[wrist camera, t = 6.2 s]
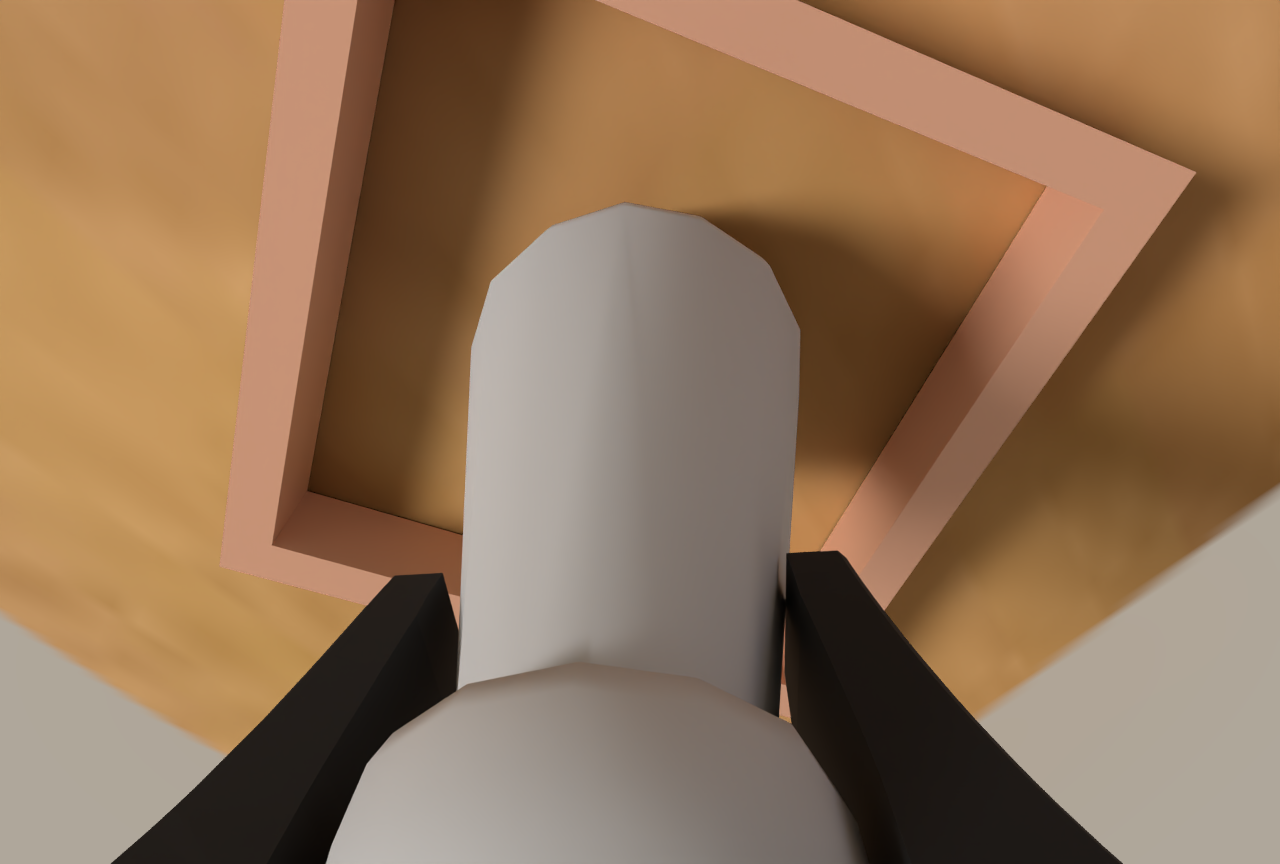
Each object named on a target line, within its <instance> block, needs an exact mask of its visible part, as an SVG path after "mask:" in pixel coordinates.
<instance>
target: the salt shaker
mask: <svg viewBox="0 0 1280 864" xmlns="http://www.w3.org/2000/svg"><path fill="white" fill-rule="evenodd" d="M799 376H800V328H799V326H798V324H797V322H796V320H795V318H794V316H793V313H792V311H791V309H790V307H789V305H788V303H787V301H786V299H785V297H784V295H783V292H782V290H781V288H780V286H779V284H778V282H777V280H776V278H775V276H774V274H773V271H772V269H771V267H770V265H769V264H768V263H767V262H766V261H765V260H764V259H763V258H762V257H760V256H759V255H757V254H756V253H755V252H753V251H752V250H750V249H749V248H747V247H746V246H744V245H743V244H741V243H740V242H738V241H737V240H735V239H734V238H732V237H731V236H729V235H728V234H726V233H725V232H723V231H722V230H720V229H719V228H717V227H716V226H714V225H713V224H711V223H710V222H708V221H707V220H705V219H704V218H703V217H701V216H697V215H692V214H686V213H681V212H676V211H670V210H665V209H660V208H654V207H649V206H644V205H638V204H633V203H628V202H623V203H620V204H617V205H614V206H611V207H608V208H605V209H602V210H598V211H595V212H592V213H589V214H586V215H583V216H580V217H577V218H574V219H571V220H567V221H564V222H561V223H558V224H555V225H552V226H551V227H550V228H548V229H547V230H546V231H545V232H544V233H543V234H542V235H541V236H539V237H538V238H537V239H536V240H535V241H534V242H533V243H532V244H531V245H530V246H529V247H527V248H526V249H525V250H524V251H523V252H522V253H521V254H520V255H519V256H518V257H517V258H516V259H514V260H513V261H512V262H511V263H510V264H509V265H508V266H507V267H506V268H505V269H504V270H502V271H501V272H500V273H499V274H498V275H497V276H496V277H495V278H494V279H493V280H492V281H491V283H490V286H489V290H488V293H487V297H486V300H485V303H484V307H483V310H482V313H481V317H480V320H479V324H478V327H477V330H476V334H475V337H474V340H473V344H472V347H471V368H470V390H469V412H468V435H467V457H466V479H465V502H464V524H463V547H462V569H461V591H460V614H459V636H458V659H457V681H456V692H454V693H453V694H451V695H450V696H448V697H447V698H445V699H444V700H442V701H441V702H439V703H437V704H436V705H434V706H433V707H431V708H430V709H428V710H427V711H425V712H424V713H422V714H421V715H419V716H418V717H416V718H415V719H413V720H412V721H410V722H409V723H407V724H406V725H404V726H403V727H401V728H400V729H398V730H397V731H395V732H394V733H392V734H391V736H390V737H389V738H388V739H387V740H386V742H385V743H384V744H383V745H382V746H381V748H380V749H379V750H378V751H377V752H376V754H375V755H374V756H373V757H372V758H371V760H370V761H369V762H368V763H367V765H366V767H365V769H364V771H363V774H362V776H361V778H360V781H359V783H358V785H357V788H356V790H355V792H354V794H353V797H352V799H351V801H350V804H349V806H348V808H347V811H346V813H345V815H344V818H343V820H342V822H341V824H340V827H339V829H338V831H337V834H336V836H335V838H334V841H333V843H332V846H331V849H330V852H329V855H328V859H327V862H326V864H869V862H868V858H867V855H866V852H865V848H864V845H863V841H862V838H861V834H860V831H859V827H858V824H857V822H856V820H855V818H854V817H853V815H852V814H851V812H850V810H849V809H848V807H847V805H846V804H845V802H844V801H843V799H842V797H841V796H840V794H839V793H838V791H837V789H836V788H835V786H834V785H833V783H832V782H831V780H830V779H829V777H828V776H827V775H826V773H825V772H824V770H823V769H822V767H821V766H820V764H819V763H818V761H817V760H816V759H815V757H814V756H813V754H812V753H811V751H810V750H809V748H808V747H807V745H806V744H805V743H804V741H803V740H802V738H801V737H800V735H799V734H798V732H797V731H796V730H795V728H794V727H793V725H792V724H791V723H789V722H787V721H784V720H782V719H780V718H779V709H780V693H781V677H782V661H783V645H784V629H785V613H786V553H789V549H790V533H791V517H792V501H793V485H794V469H795V454H796V438H797V422H798V406H799Z"/></svg>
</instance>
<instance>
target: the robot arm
mask: <svg viewBox="0 0 1280 864" xmlns="http://www.w3.org/2000/svg"><path fill="white" fill-rule="evenodd" d="M458 636H459V630H458V626H457V623H456V619H455V615H454V612H453V608H452V604H451V601H450V597H449V594H448V590H447V586H446V583H445V579H444V575H443V573H430V574H412V575H395V576H394V577H393V578H392V579H391V580H390V581H389V582H388V583H387V584H386V585H385V586H384V587H383V588H382V590H381V591H380V592H379V593H378V594H377V595H376V596H375V597H374V598H373V599H372V600H371V602H370V603H369V604H368V605H367V606H366V607H365V608H364V609H363V611H362V612H361V613H360V614H359V615H358V616H357V617H356V618H355V619H354V621H353V622H352V623H351V624H350V625H349V626H348V627H347V629H346V630H345V631H344V632H343V633H342V634H341V635H340V636H339V638H338V639H337V640H336V641H335V642H334V643H333V644H332V645H331V646H330V648H329V649H328V650H327V651H326V652H325V653H324V654H323V655H322V657H321V658H320V659H319V660H318V661H317V662H316V663H315V664H314V665H313V666H312V668H311V669H310V670H309V671H308V672H307V673H306V674H305V675H304V676H303V677H302V678H301V679H300V681H299V682H298V683H297V684H296V685H295V686H294V687H293V688H292V689H291V690H290V691H289V692H288V693H287V695H286V696H285V697H284V698H283V699H282V700H281V701H280V702H279V703H278V704H277V705H276V706H275V708H274V709H273V710H272V711H271V712H270V713H269V714H268V715H267V716H266V717H265V718H264V719H263V720H262V721H261V722H260V723H259V724H258V725H257V726H256V727H255V728H254V729H253V730H252V731H251V732H250V733H249V734H248V735H247V736H246V737H245V738H244V739H243V740H242V741H241V742H240V743H239V744H238V745H237V746H236V747H235V748H234V749H233V750H232V751H231V752H230V753H229V754H228V755H227V756H226V757H225V758H224V759H223V760H222V761H221V762H220V763H219V764H218V765H217V766H216V767H215V768H214V769H213V770H212V771H211V772H210V773H209V774H208V775H207V776H206V777H205V778H204V779H203V780H202V782H200V783H199V784H198V785H197V786H196V787H195V788H194V789H193V790H192V791H191V792H190V793H189V794H188V795H187V796H186V797H185V798H184V799H183V800H181V802H179V803H178V804H177V805H176V806H175V807H174V808H173V809H172V810H171V811H170V812H169V813H167V814H166V815H165V816H164V817H163V818H162V819H161V820H160V821H159V822H158V823H157V824H156V825H155V826H153V827H152V828H151V829H150V830H149V831H148V832H147V833H145V834H144V835H143V836H142V837H141V838H140V839H138V840H137V841H136V842H135V843H134V844H133V845H132V846H130V847H129V848H128V849H127V850H126V851H125V852H124V853H122V854H121V855H120V856H119V857H118V858H117V859H116V860H114V861H113V862H112V863H111V864H326V862H327V859H328V855H329V852H330V849H331V846H332V843H333V841H334V838H335V836H336V834H337V831H338V829H339V827H340V824H341V822H342V820H343V818H344V815H345V813H346V811H347V808H348V806H349V804H350V801H351V799H352V797H353V794H354V792H355V790H356V788H357V785H358V783H359V781H360V778H361V776H362V774H363V771H364V769H365V767H366V765H367V763H368V762H369V761H370V760H371V758H372V757H373V756H374V755H375V754H376V752H377V751H378V750H379V749H380V748H381V746H382V745H383V744H384V743H385V742H386V740H387V739H388V738H389V737H390V736H391V734H392V733H394V732H395V731H397V730H398V729H400V728H401V727H403V726H404V725H406V724H407V723H409V722H410V721H412V720H413V719H415V718H416V717H418V716H419V715H421V714H422V713H424V712H425V711H427V710H428V709H430V708H431V707H433V706H434V705H436V704H437V703H439V702H441V701H442V700H444V699H445V698H447V697H448V696H450V695H451V694H453V693H454V692H456V681H457V659H458ZM784 674H785V681H786V688H787V695H788V702H789V709H790V716H791V722H792V725H793V727H794V728H795V730H796V731H797V732H798V734H799V735H800V737H801V738H802V740H803V741H804V743H805V744H806V745H807V747H808V748H809V750H810V751H811V753H812V754H813V756H814V757H815V759H816V760H817V761H818V763H819V764H820V766H821V767H822V769H823V770H824V772H825V773H826V775H827V776H828V777H829V779H830V780H831V782H832V783H833V785H834V786H835V788H836V789H837V791H838V793H839V794H840V796H841V797H842V799H843V801H844V802H845V804H846V805H847V807H848V809H849V810H850V812H851V814H852V815H853V817H854V818H855V820H856V822H857V824H858V827H859V831H860V834H861V838H862V841H863V845H864V848H865V852H866V855H867V858H868V862H869V864H1123V863H1122V862H1120V861H1119V860H1118V859H1117V858H1116V857H1115V856H1114V855H1113V854H1111V853H1110V852H1109V851H1108V850H1107V849H1106V848H1105V847H1103V846H1102V845H1101V844H1100V843H1099V842H1098V841H1097V840H1096V839H1095V838H1094V837H1093V836H1092V835H1091V834H1089V833H1088V832H1087V831H1086V830H1085V829H1084V828H1083V827H1082V826H1081V825H1080V824H1079V823H1078V822H1077V821H1075V820H1074V819H1073V818H1072V817H1071V816H1070V815H1069V814H1068V813H1067V812H1066V811H1065V810H1064V809H1063V808H1062V807H1060V806H1059V805H1058V804H1057V803H1056V802H1055V801H1054V800H1053V799H1052V798H1051V797H1050V796H1049V795H1048V794H1047V793H1046V792H1045V791H1044V790H1043V789H1042V788H1041V787H1040V786H1039V785H1038V784H1037V783H1036V782H1035V781H1034V780H1033V779H1032V778H1031V777H1030V776H1029V775H1028V774H1027V773H1026V772H1025V771H1024V770H1023V769H1022V768H1021V767H1020V766H1019V765H1018V764H1017V763H1016V762H1015V761H1014V760H1013V759H1012V758H1011V757H1010V756H1009V755H1008V754H1007V753H1006V752H1005V750H1004V749H1003V748H1002V747H1001V746H1000V745H999V744H998V743H997V742H996V741H995V740H994V739H993V738H992V737H991V736H990V735H989V733H988V732H987V731H986V730H985V729H984V728H983V727H982V726H981V725H980V724H979V723H978V722H977V721H976V720H975V718H974V717H973V716H972V715H971V714H970V713H969V712H968V711H967V710H966V708H965V707H964V706H963V705H962V704H961V703H960V702H959V701H958V700H957V698H956V697H955V696H954V695H953V694H952V693H951V692H950V690H949V689H948V688H947V687H946V686H945V684H944V683H943V682H942V681H941V680H940V679H939V677H938V676H937V675H936V674H935V673H934V672H933V670H932V669H931V668H930V667H929V666H928V665H927V663H926V662H925V661H924V660H923V659H922V657H921V656H920V655H919V654H918V653H917V652H916V650H915V649H914V648H913V647H912V645H911V644H910V643H909V642H908V640H907V639H906V638H905V637H904V636H903V634H902V633H901V632H900V630H899V629H898V628H897V627H896V625H895V624H894V623H893V621H892V620H891V619H890V618H889V616H888V615H887V614H886V612H885V611H884V610H883V609H882V607H881V606H880V604H879V603H878V602H877V600H876V599H875V598H874V596H873V595H872V594H871V592H870V591H869V590H868V588H867V587H866V585H865V584H864V583H863V581H862V580H861V578H860V577H859V576H858V574H857V573H856V571H855V570H854V568H853V567H852V565H851V564H850V562H849V561H848V559H847V558H846V557H845V556H844V555H843V554H841V553H840V552H839V551H838V550H835V551H817V552H800V553H786V613H785V667H784Z"/></svg>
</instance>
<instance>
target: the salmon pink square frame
mask: <svg viewBox="0 0 1280 864" xmlns="http://www.w3.org/2000/svg"><path fill="white" fill-rule="evenodd" d="M596 1H599V2H601V3H604V4H606V5H609V6H611V7H613V8H616V9H618V10H621V11H623V12H625V13H628V14H630V15H633V16H635V17H638V18H640V19H642V20H645V21H647V22H650V23H652V24H655V25H657V26H659V27H662V28H664V29H667V30H669V31H672V32H674V33H676V34H679V35H681V36H684V37H686V38H689V39H691V40H693V41H696V42H698V43H701V44H703V45H706V46H708V47H710V48H713V49H715V50H718V51H720V52H723V53H725V54H727V55H730V56H732V57H735V58H737V59H740V60H742V61H744V62H747V63H749V64H752V65H754V66H757V67H759V68H761V69H764V70H766V71H769V72H771V73H774V74H776V75H778V76H781V77H783V78H786V79H788V80H791V81H793V82H795V83H798V84H800V85H803V86H805V87H808V88H810V89H812V90H815V91H817V92H820V93H822V94H825V95H827V96H829V97H832V98H834V99H837V100H839V101H842V102H844V103H846V104H849V105H851V106H854V107H856V108H859V109H861V110H863V111H866V112H868V113H871V114H873V115H875V116H878V117H880V118H883V119H885V120H888V121H890V122H892V123H895V124H897V125H900V126H902V127H905V128H907V129H909V130H912V131H914V132H917V133H919V134H922V135H924V136H926V137H929V138H931V139H934V140H936V141H939V142H941V143H943V144H946V145H948V146H951V147H953V148H956V149H958V150H960V151H963V152H965V153H968V154H970V155H973V156H975V157H977V158H980V159H982V160H985V161H987V162H990V163H992V164H994V165H997V166H999V167H1002V168H1004V169H1007V170H1009V171H1011V172H1014V173H1016V174H1019V175H1021V176H1024V177H1026V178H1028V179H1031V180H1033V181H1036V182H1038V183H1041V184H1043V185H1045V186H1047V187H1046V189H1045V190H1044V192H1043V194H1042V195H1041V197H1040V198H1039V200H1038V202H1037V203H1036V205H1035V206H1034V208H1033V210H1032V211H1031V213H1030V214H1029V216H1028V218H1027V219H1026V221H1025V222H1024V224H1023V226H1022V227H1021V229H1020V231H1019V232H1018V234H1017V235H1016V237H1015V239H1014V240H1013V242H1012V243H1011V245H1010V247H1009V248H1008V250H1007V251H1006V253H1005V255H1004V256H1003V258H1002V259H1001V261H1000V263H999V264H998V266H997V268H996V269H995V271H994V272H993V274H992V276H991V277H990V279H989V280H988V282H987V284H986V285H985V287H984V288H983V290H982V292H981V293H980V295H979V296H978V298H977V300H976V301H975V303H974V304H973V306H972V308H971V309H970V311H969V313H968V314H967V316H966V317H965V319H964V321H963V322H962V324H961V325H960V327H959V329H958V330H957V332H956V333H955V335H954V337H953V338H952V340H951V341H950V343H949V345H948V346H947V348H946V350H945V351H944V353H943V354H942V356H941V358H940V359H939V361H938V362H937V364H936V366H935V367H934V369H933V370H932V372H931V374H930V375H929V377H928V378H927V380H926V382H925V383H924V385H923V387H922V388H921V390H920V391H919V393H918V395H917V396H916V398H915V399H914V401H913V403H912V404H911V406H910V407H909V409H908V411H907V412H906V414H905V415H904V417H903V419H902V420H901V422H900V423H899V425H898V427H897V428H896V430H895V432H894V433H893V435H892V436H891V438H890V440H889V441H888V443H887V444H886V446H885V448H884V449H883V451H882V452H881V454H880V456H879V457H878V459H877V460H876V462H875V464H874V465H873V467H872V469H871V470H870V472H869V473H868V475H867V477H866V478H865V480H864V481H863V483H862V485H861V486H860V488H859V489H858V491H857V493H856V494H855V496H854V497H853V499H852V501H851V502H850V504H849V505H848V507H847V509H846V510H845V512H844V514H843V515H842V517H841V518H840V520H839V522H838V523H837V525H836V526H835V528H834V530H833V531H832V533H831V534H830V536H829V538H828V539H827V541H826V542H825V544H824V546H823V547H822V549H821V551H835V550H838V551H839V552H840V553H841V554H843V555H844V556H845V557H846V558H847V559H848V561H849V562H850V564H851V565H852V567H853V568H854V570H855V571H856V573H857V574H858V576H859V577H860V578H861V580H862V581H863V583H864V584H865V585H866V587H867V588H868V590H869V591H870V592H871V594H872V595H873V596H874V598H875V599H876V600H877V602H878V603H879V604H880V606H881V607H882V609H883V610H885V609H886V607H887V606H888V605H889V603H890V602H891V600H892V599H893V598H894V596H895V595H896V593H897V592H898V591H899V589H900V588H901V586H902V585H903V584H904V582H905V581H906V579H907V578H908V577H909V575H910V574H911V572H912V571H913V570H914V568H915V567H916V565H917V564H918V563H919V561H920V560H921V558H922V557H923V556H924V554H925V553H926V551H927V550H928V549H929V547H930V546H931V544H932V543H933V541H934V540H935V539H936V537H937V536H938V534H939V533H940V532H941V530H942V529H943V527H944V526H945V525H946V523H947V522H948V520H949V519H950V518H951V516H952V515H953V513H954V512H955V511H956V509H957V508H958V506H959V505H960V504H961V502H962V501H963V499H964V498H965V497H966V495H967V494H968V492H969V491H970V490H971V488H972V487H973V485H974V484H975V483H976V481H977V480H978V478H979V477H980V475H981V474H982V473H983V471H984V470H985V468H986V467H987V466H988V464H989V463H990V461H991V460H992V459H993V457H994V456H995V454H996V453H997V452H998V450H999V449H1000V447H1001V446H1002V445H1003V443H1004V442H1005V440H1006V439H1007V438H1008V436H1009V435H1010V433H1011V432H1012V431H1013V429H1014V428H1015V426H1016V425H1017V424H1018V422H1019V421H1020V419H1021V418H1022V417H1023V415H1024V414H1025V412H1026V411H1027V409H1028V408H1029V407H1030V405H1031V404H1032V402H1033V401H1034V400H1035V398H1036V397H1037V395H1038V394H1039V393H1040V391H1041V390H1042V388H1043V387H1044V386H1045V384H1046V383H1047V381H1048V380H1049V379H1050V377H1051V376H1052V374H1053V373H1054V372H1055V370H1056V369H1057V367H1058V366H1059V365H1060V363H1061V362H1062V360H1063V359H1064V358H1065V356H1066V355H1067V353H1068V352H1069V351H1070V349H1071V348H1072V346H1073V345H1074V343H1075V342H1076V341H1077V339H1078V338H1079V336H1080V335H1081V334H1082V332H1083V331H1084V329H1085V328H1086V327H1087V325H1088V324H1089V322H1090V321H1091V320H1092V318H1093V317H1094V315H1095V314H1096V313H1097V311H1098V310H1099V308H1100V307H1101V306H1102V304H1103V303H1104V301H1105V300H1106V299H1107V297H1108V296H1109V294H1110V293H1111V292H1112V290H1113V289H1114V287H1115V286H1116V285H1117V283H1118V282H1119V280H1120V279H1121V278H1122V276H1123V275H1124V273H1125V272H1126V270H1127V269H1128V268H1129V266H1130V265H1131V263H1132V262H1133V261H1134V259H1135V258H1136V256H1137V255H1138V254H1139V252H1140V251H1141V249H1142V248H1143V247H1144V245H1145V244H1146V242H1147V241H1148V240H1149V238H1150V237H1151V235H1152V234H1153V233H1154V231H1155V230H1156V228H1157V227H1158V226H1159V224H1160V223H1161V221H1162V220H1163V219H1164V217H1165V216H1166V214H1167V213H1168V212H1169V210H1170V209H1171V207H1172V206H1173V204H1174V203H1175V202H1176V200H1177V199H1178V197H1179V196H1180V195H1181V193H1182V192H1183V190H1184V189H1185V188H1186V186H1187V185H1188V183H1189V182H1190V181H1191V179H1192V178H1193V176H1194V175H1195V174H1196V172H1195V171H1192V170H1190V169H1188V168H1185V167H1183V166H1181V165H1178V164H1176V163H1174V162H1171V161H1169V160H1167V159H1164V158H1162V157H1160V156H1157V155H1155V154H1153V153H1151V152H1148V151H1146V150H1144V149H1141V148H1139V147H1137V146H1134V145H1132V144H1130V143H1127V142H1125V141H1123V140H1120V139H1118V138H1116V137H1113V136H1111V135H1109V134H1106V133H1104V132H1102V131H1100V130H1097V129H1095V128H1093V127H1090V126H1088V125H1086V124H1083V123H1081V122H1079V121H1076V120H1074V119H1072V118H1069V117H1067V116H1065V115H1062V114H1060V113H1058V112H1055V111H1053V110H1051V109H1048V108H1046V107H1044V106H1042V105H1039V104H1037V103H1035V102H1032V101H1030V100H1028V99H1025V98H1023V97H1021V96H1018V95H1016V94H1014V93H1011V92H1009V91H1007V90H1004V89H1002V88H1000V87H997V86H995V85H993V84H991V83H988V82H986V81H984V80H981V79H979V78H977V77H974V76H972V75H970V74H967V73H965V72H963V71H960V70H958V69H956V68H953V67H951V66H949V65H946V64H944V63H942V62H940V61H937V60H935V59H933V58H930V57H928V56H926V55H923V54H921V53H919V52H916V51H914V50H912V49H909V48H907V47H905V46H902V45H900V44H898V43H895V42H893V41H891V40H888V39H886V38H884V37H882V36H879V35H877V34H875V33H872V32H870V31H868V30H865V29H863V28H861V27H858V26H856V25H854V24H851V23H849V22H847V21H844V20H842V19H840V18H837V17H835V16H833V15H831V14H828V13H826V12H824V11H821V10H819V9H817V8H814V7H812V6H810V5H807V4H805V3H803V2H800V1H798V0H596ZM394 2H395V0H284V9H283V18H282V26H281V35H280V44H279V53H278V61H277V70H276V79H275V87H274V96H273V105H272V114H271V122H270V131H269V140H268V148H267V157H266V166H265V175H264V183H263V192H262V201H261V209H260V218H259V227H258V236H257V244H256V253H255V262H254V270H253V279H252V288H251V297H250V305H249V314H248V323H247V332H246V340H245V349H244V358H243V366H242V375H241V384H240V393H239V401H238V410H237V419H236V427H235V436H234V445H233V454H232V462H231V471H230V480H229V488H228V497H227V506H226V515H225V523H224V532H223V541H222V549H221V558H220V567H223V568H227V569H231V570H234V571H238V572H242V573H246V574H249V575H253V576H257V577H261V578H265V579H268V580H272V581H276V582H280V583H283V584H287V585H291V586H295V587H299V588H302V589H306V590H310V591H314V592H317V593H321V594H325V595H329V596H333V597H336V598H340V599H344V600H348V601H351V602H355V603H359V604H363V605H368V604H369V603H370V602H371V600H372V599H373V598H374V597H375V596H376V595H377V594H378V593H379V592H380V591H381V590H382V588H383V587H384V586H385V585H386V584H387V583H388V582H389V581H390V580H391V579H392V578H393V577H394V576H395V575H412V574H430V573H443V575H444V579H445V583H446V586H447V590H448V594H449V597H450V601H451V604H452V608H453V612H454V615H455V619H456V623H457V626H458V630H459V614H460V591H461V569H462V547H463V535H460V534H456V533H453V532H449V531H446V530H442V529H439V528H435V527H432V526H428V525H425V524H421V523H418V522H414V521H411V520H407V519H404V518H400V517H397V516H393V515H390V514H386V513H383V512H379V511H376V510H372V509H369V508H365V507H362V506H358V505H355V504H351V503H348V502H344V501H341V500H337V499H334V498H330V497H327V496H323V495H320V494H316V493H313V492H309V491H307V490H308V484H309V478H310V473H311V467H312V462H313V456H314V450H315V445H316V439H317V434H318V428H319V422H320V417H321V411H322V406H323V400H324V394H325V389H326V383H327V378H328V372H329V366H330V361H331V355H332V350H333V344H334V338H335V333H336V327H337V321H338V316H339V310H340V305H341V299H342V293H343V288H344V282H345V277H346V271H347V265H348V260H349V254H350V249H351V243H352V237H353V232H354V226H355V221H356V215H357V209H358V204H359V198H360V193H361V187H362V181H363V176H364V170H365V165H366V159H367V153H368V148H369V142H370V137H371V131H372V125H373V120H374V114H375V109H376V103H377V97H378V92H379V86H380V80H381V75H382V69H383V64H384V58H385V52H386V47H387V41H388V36H389V30H390V24H391V19H392V13H393V8H394ZM784 667H785V629H784V645H783V661H782V677H781V693H780V709H779V715H782V716H786V717H789V718H791V716H790V709H789V702H788V695H787V688H786V681H785V674H784Z"/></svg>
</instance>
